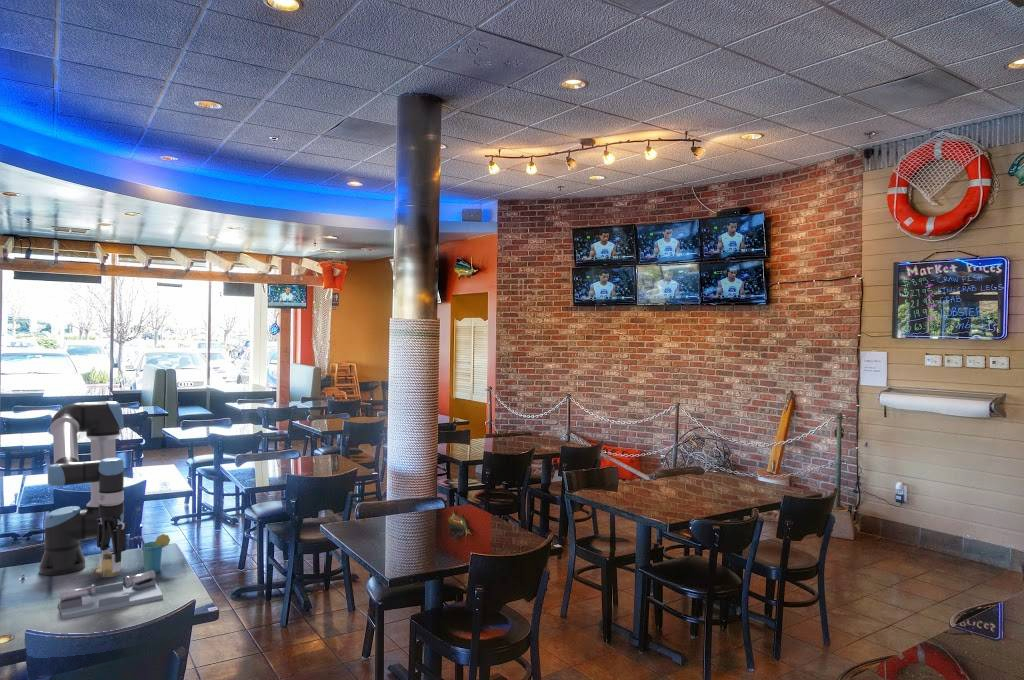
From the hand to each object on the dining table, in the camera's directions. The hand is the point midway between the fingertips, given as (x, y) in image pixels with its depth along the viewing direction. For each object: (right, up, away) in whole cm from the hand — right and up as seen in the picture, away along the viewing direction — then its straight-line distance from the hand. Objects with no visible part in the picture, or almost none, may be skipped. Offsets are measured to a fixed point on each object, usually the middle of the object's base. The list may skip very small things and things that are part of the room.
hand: (111, 569), depth 243 cm
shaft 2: (+5, -10, +9) cm, 14 cm away
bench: (0, -11, +1) cm, 11 cm away
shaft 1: (-8, -8, -6) cm, 13 cm away
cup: (-1, -11, +29) cm, 30 cm away
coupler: (0, -2, 0) cm, 2 cm away
